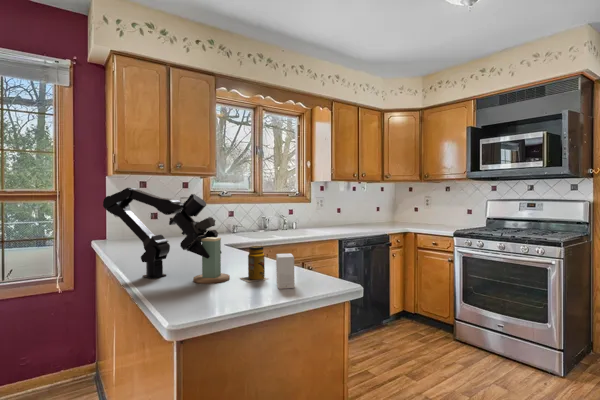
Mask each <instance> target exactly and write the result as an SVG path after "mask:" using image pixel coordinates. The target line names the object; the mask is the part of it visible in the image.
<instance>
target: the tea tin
mask: <svg viewBox="0 0 600 400" xmlns="http://www.w3.org/2000/svg"><path fill="white" fill-rule="evenodd" d="M221 239H222V237H218V236H217V237H207V238H203V239H202V242H201V244H202V246H203V247H204V248H205V250H206V251H207V253H208V254H209V256H210V257H209V258H208V259H207V258H205V257H203V256H201V266H202V267H201V274H202V278H216V277H218V276H220V275H221V273H222V267H221V265H222V263H221V261H222V260H221V259H222V255H221V254H222V253H221V252H222V248H221V245H222V242H221V241H222V240H221Z"/></svg>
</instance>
